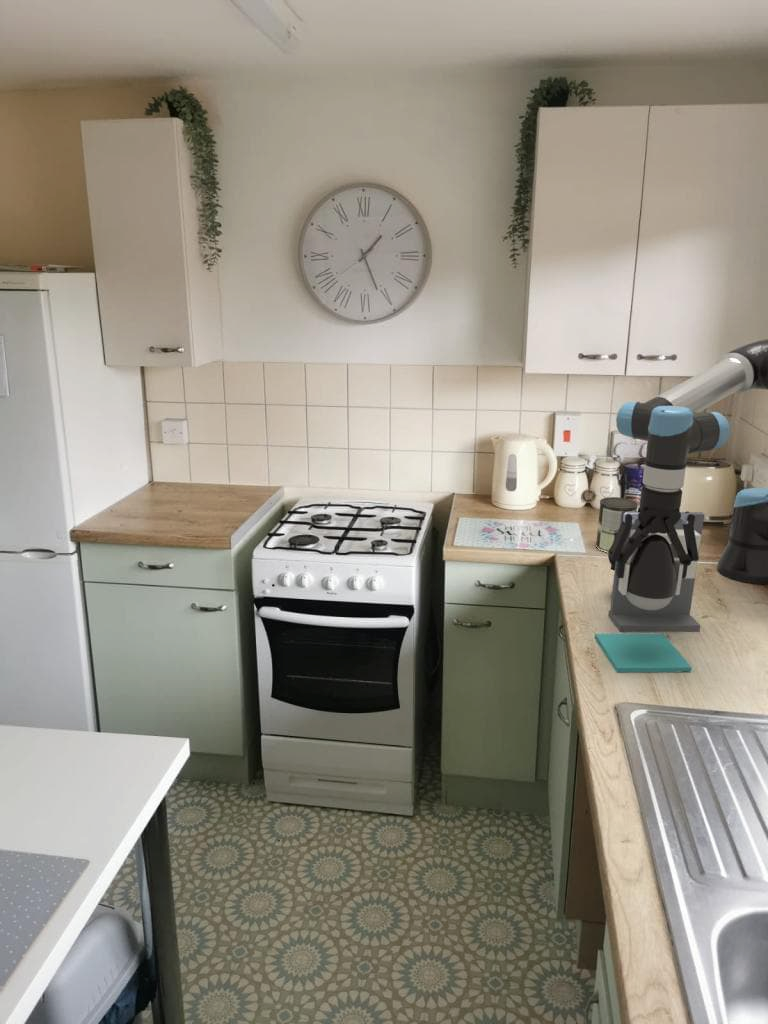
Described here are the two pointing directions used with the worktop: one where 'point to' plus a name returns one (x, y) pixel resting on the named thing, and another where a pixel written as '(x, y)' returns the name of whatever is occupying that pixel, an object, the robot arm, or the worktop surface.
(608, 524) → the coffee can
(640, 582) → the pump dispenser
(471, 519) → the worktop surface
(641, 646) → the mat
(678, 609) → the mounted unit
